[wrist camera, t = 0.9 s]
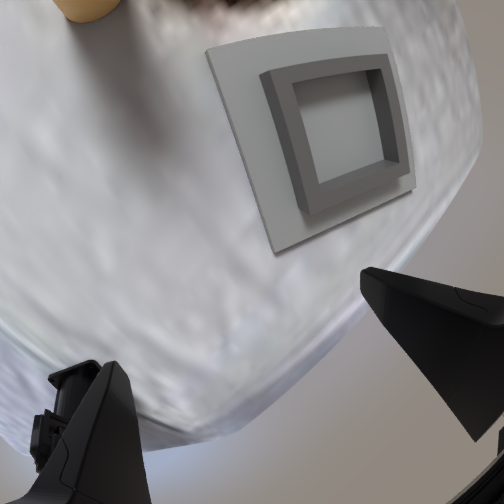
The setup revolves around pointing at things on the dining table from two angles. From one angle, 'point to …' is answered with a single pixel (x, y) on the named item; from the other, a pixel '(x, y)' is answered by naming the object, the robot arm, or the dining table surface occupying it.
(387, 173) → the socket
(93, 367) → the robot arm
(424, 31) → the dining table surface
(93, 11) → the rounded tan peg
